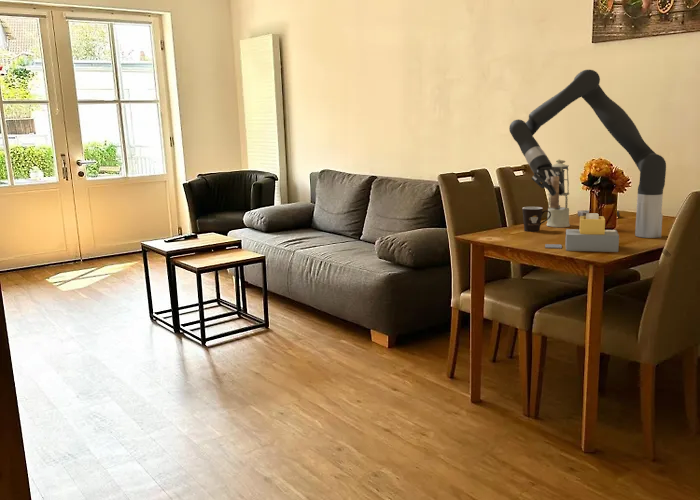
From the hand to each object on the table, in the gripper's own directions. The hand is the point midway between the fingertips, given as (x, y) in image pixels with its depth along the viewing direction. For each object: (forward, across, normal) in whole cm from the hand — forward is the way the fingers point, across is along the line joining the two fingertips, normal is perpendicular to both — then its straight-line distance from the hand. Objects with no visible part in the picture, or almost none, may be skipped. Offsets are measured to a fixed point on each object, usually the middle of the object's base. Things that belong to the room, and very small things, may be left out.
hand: (558, 193), depth 244 cm
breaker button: (+18, +6, +3) cm, 19 cm away
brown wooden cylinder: (+2, 0, +5) cm, 6 cm away
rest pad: (+15, -4, +13) cm, 20 cm away
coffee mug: (-7, +13, +36) cm, 39 cm away
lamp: (-11, +31, +40) cm, 52 cm away
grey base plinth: (+22, +6, +6) cm, 24 cm away
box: (-17, +63, +47) cm, 80 cm away
